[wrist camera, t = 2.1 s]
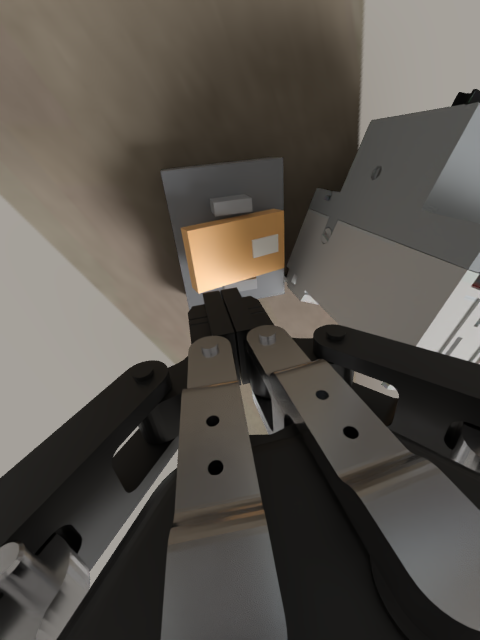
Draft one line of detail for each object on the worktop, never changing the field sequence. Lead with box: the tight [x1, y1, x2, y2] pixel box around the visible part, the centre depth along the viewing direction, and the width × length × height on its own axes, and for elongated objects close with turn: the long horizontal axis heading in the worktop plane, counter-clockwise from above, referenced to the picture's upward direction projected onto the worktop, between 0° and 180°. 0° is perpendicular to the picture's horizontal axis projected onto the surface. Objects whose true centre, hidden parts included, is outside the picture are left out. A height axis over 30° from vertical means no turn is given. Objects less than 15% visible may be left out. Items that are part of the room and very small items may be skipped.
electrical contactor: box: [284, 89, 480, 390], centre depth 18 cm, size 8×14×15 cm, turn 163°
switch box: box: [161, 157, 284, 310], centre depth 21 cm, size 10×8×5 cm
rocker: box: [181, 209, 284, 294], centre depth 19 cm, size 4×7×2 cm, turn 96°
